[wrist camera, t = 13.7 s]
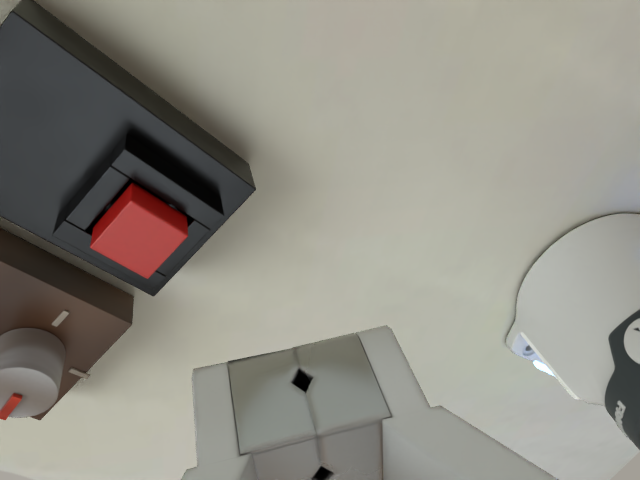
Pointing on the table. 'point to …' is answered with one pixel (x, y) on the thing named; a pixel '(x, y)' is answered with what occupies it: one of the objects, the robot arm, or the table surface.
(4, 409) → the dial
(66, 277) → the dial panel
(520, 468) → the robot arm
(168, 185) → the red push button box
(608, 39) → the table surface
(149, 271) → the button
